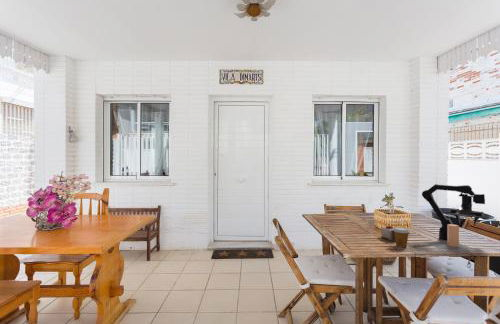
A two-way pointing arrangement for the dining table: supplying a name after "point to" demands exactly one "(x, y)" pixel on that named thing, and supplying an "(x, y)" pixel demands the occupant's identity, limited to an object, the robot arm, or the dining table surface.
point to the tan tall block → (453, 235)
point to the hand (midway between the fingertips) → (466, 224)
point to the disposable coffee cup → (401, 236)
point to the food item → (388, 233)
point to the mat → (446, 245)
